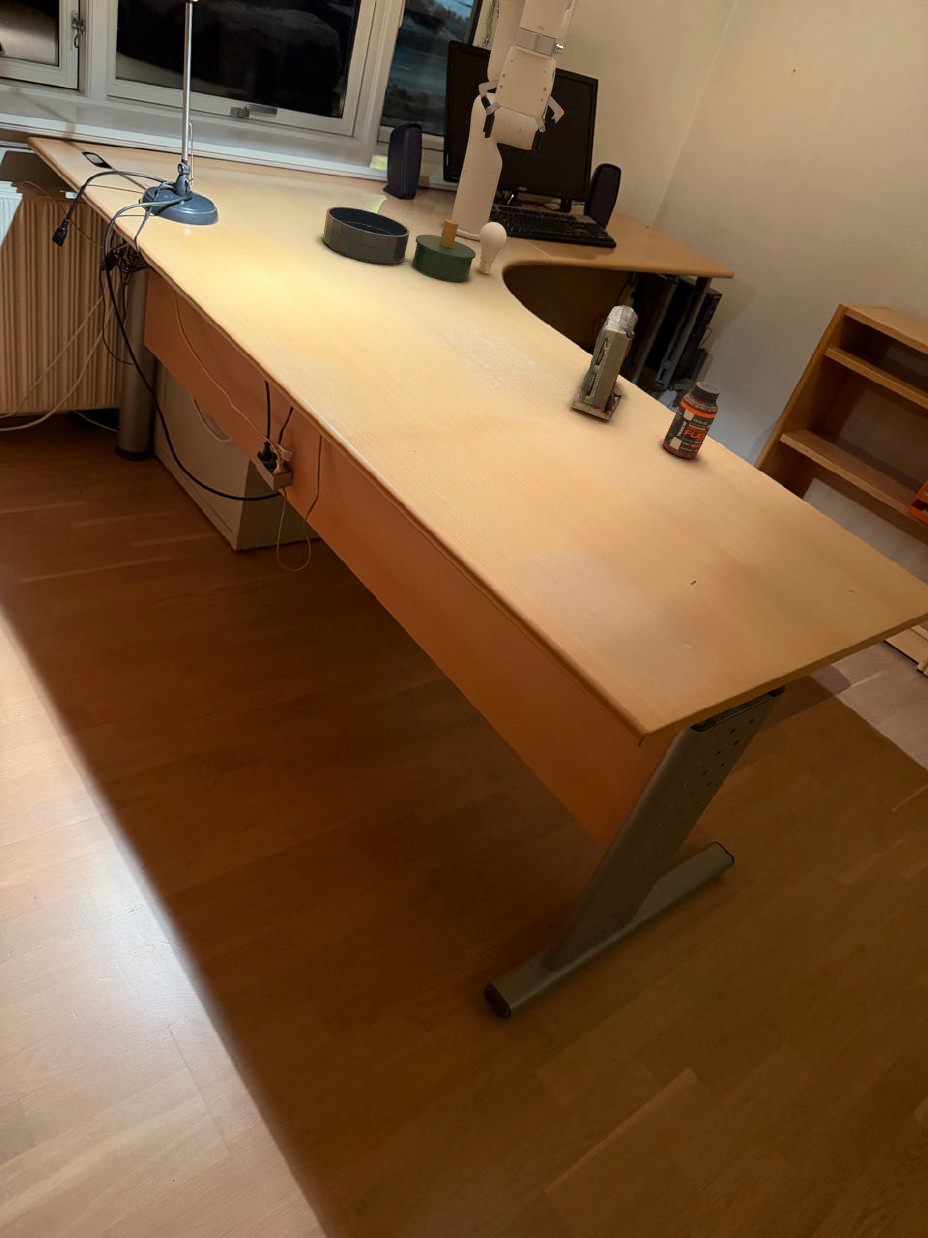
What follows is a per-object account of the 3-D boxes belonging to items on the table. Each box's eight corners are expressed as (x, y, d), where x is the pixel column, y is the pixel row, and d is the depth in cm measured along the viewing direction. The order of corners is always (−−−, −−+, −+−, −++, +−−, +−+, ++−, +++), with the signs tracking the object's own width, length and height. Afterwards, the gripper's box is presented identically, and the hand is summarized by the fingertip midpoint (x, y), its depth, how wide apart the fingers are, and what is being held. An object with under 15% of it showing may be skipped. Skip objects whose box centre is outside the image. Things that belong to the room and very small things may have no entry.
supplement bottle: (675, 459, 134) (704, 394, 127) (655, 440, 138) (682, 376, 131) (703, 460, 137) (733, 396, 130) (682, 442, 141) (711, 379, 134)
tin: (410, 256, 187) (415, 233, 184) (464, 269, 190) (469, 246, 187) (414, 273, 177) (419, 249, 174) (470, 286, 180) (476, 263, 178)
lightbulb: (493, 279, 189) (507, 229, 183) (468, 271, 189) (481, 220, 183) (498, 273, 194) (511, 224, 188) (473, 265, 194) (486, 216, 188)
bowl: (323, 229, 186) (327, 200, 183) (401, 247, 191) (407, 220, 187) (321, 252, 172) (326, 221, 169) (406, 271, 177) (412, 242, 173)
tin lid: (412, 234, 185) (418, 205, 181) (470, 249, 188) (477, 220, 184) (417, 252, 174) (423, 221, 171) (478, 267, 178) (485, 237, 174)
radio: (592, 369, 158) (620, 291, 149) (634, 386, 157) (665, 308, 148) (558, 405, 140) (588, 318, 131) (606, 424, 138) (639, 337, 129)
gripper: (580, 58, 160) (552, 156, 170) (495, 30, 160) (472, 130, 170) (577, 59, 154) (548, 160, 164) (488, 30, 154) (465, 133, 164)
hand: (509, 144), depth 167 cm, fingers open, 9 cm apart
